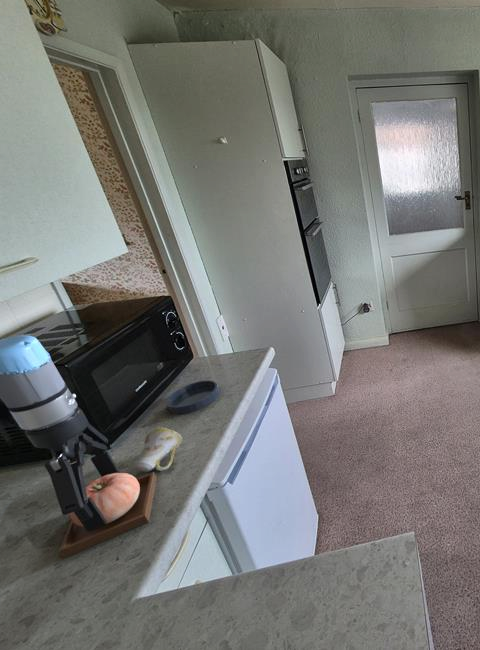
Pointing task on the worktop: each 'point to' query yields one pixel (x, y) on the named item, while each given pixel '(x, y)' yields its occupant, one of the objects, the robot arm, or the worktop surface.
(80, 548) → the tray
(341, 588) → the worktop surface
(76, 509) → the robot arm
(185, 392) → the dark blue ring
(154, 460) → the mug
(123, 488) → the pumpkin
